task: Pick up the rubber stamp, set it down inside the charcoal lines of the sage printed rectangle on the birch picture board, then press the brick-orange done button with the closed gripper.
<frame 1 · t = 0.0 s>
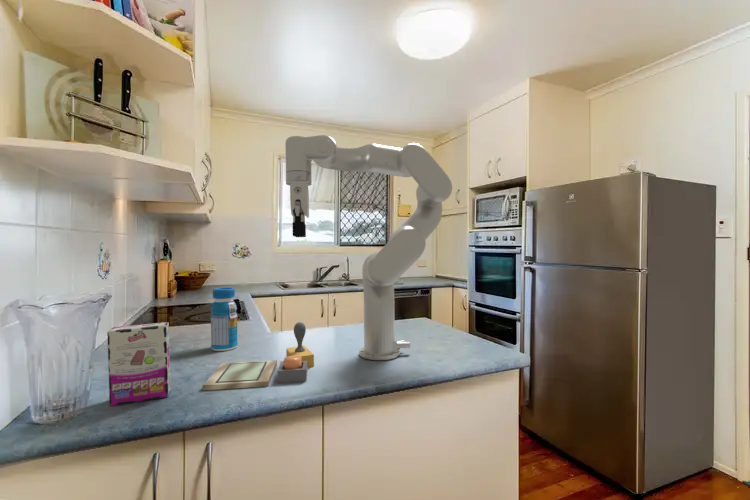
hand: (299, 236, 107), 37 cm above the worktop, tool pointing down, fingers open, 9 cm apart
beverage bottle: (224, 348, 119), on the worktop
done button: (293, 364, 92), point 3 cm above the worktop, slide at 0.0 cm
rubber stamp: (299, 364, 103), on the worktop
picture board: (243, 376, 93), on the worktop
candy bar box: (141, 398, 81), on the worktop
button housing: (293, 377, 92), on the worktop
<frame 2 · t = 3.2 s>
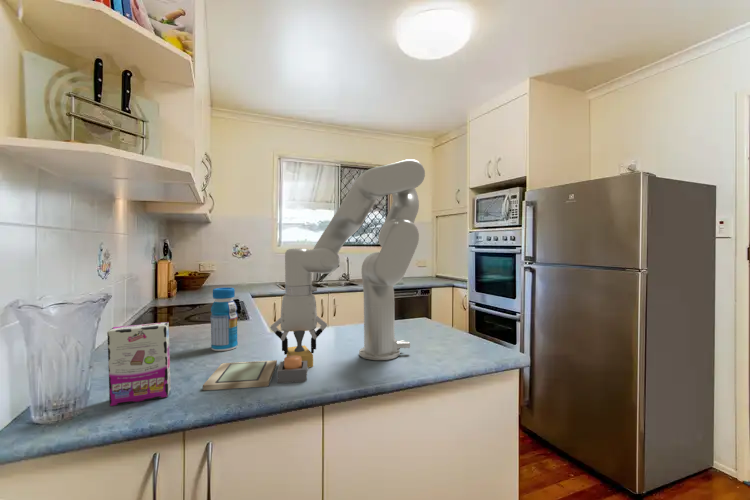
hand: (299, 352, 103), 3 cm above the worktop, tool pointing down, fingers closed on rubber stamp, 6 cm apart
rubber stamp: (299, 363, 103), on the worktop, touching gripper
everything else where it was.
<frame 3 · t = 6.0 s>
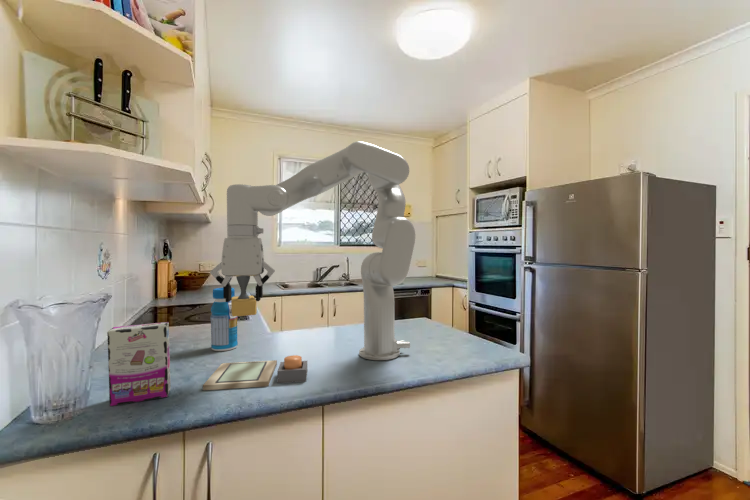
hand: (243, 300, 93), 20 cm above the worktop, tool pointing down, fingers closed on rubber stamp, 6 cm apart
rubber stamp: (243, 313, 93), point 16 cm above the worktop, touching gripper
everything else where it was.
when the fingers open (5 cm above the worktop, at t = 9.3 s): rubber stamp stays where it is, resting on picture board.
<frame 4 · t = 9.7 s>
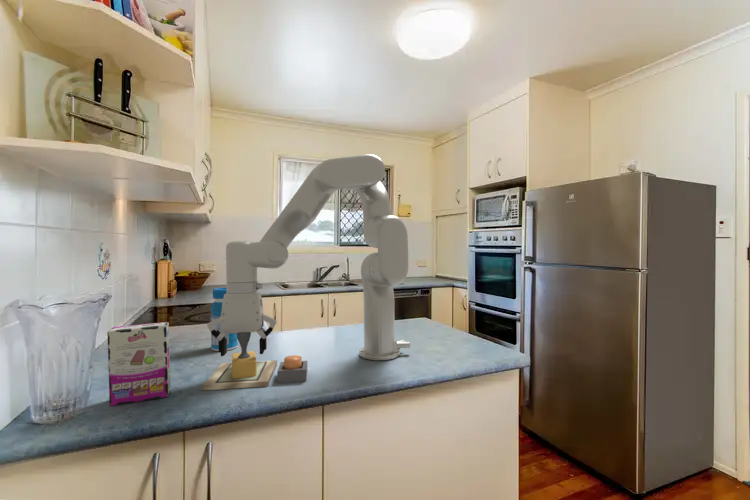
hand: (243, 353, 93), 6 cm above the worktop, tool pointing down, fingers open, 9 cm apart
rubber stamp: (244, 371, 93), point 1 cm above the worktop, touching picture board
everything else where it was.
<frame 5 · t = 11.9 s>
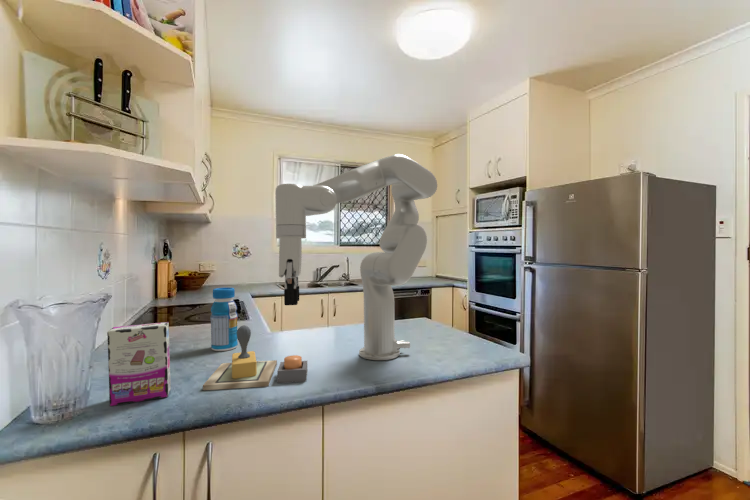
hand: (292, 302, 92), 19 cm above the worktop, tool pointing down, fingers open, 5 cm apart
nothing on the worktop moved.
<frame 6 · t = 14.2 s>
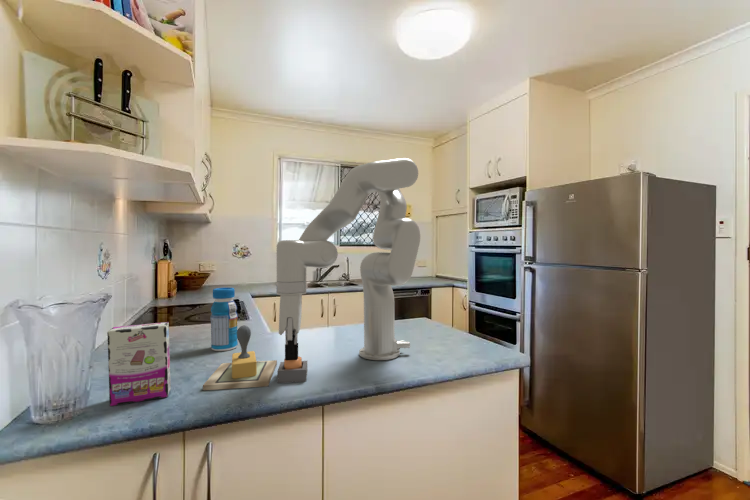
hand: (291, 358, 92), 5 cm above the worktop, tool pointing down, fingers closed
done button: (293, 365, 92), point 3 cm above the worktop, slide at 0.2 cm, touching gripper
everything else where it was.
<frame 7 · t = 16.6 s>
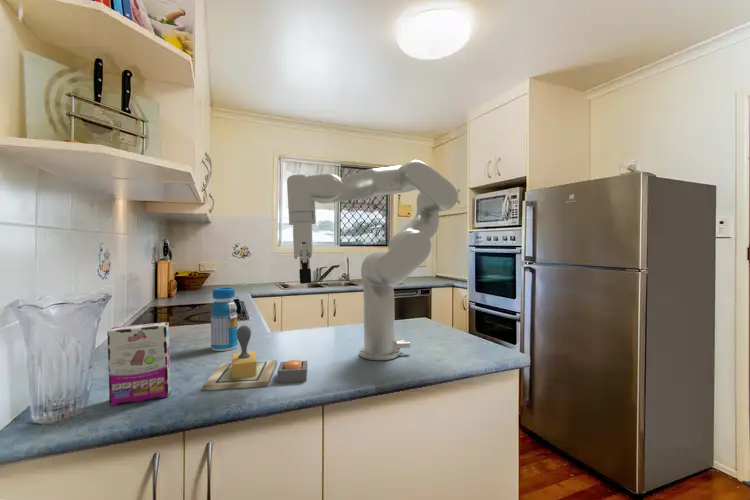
hand: (305, 283, 102), 23 cm above the worktop, tool pointing down, fingers closed
done button: (293, 369, 92), point 2 cm above the worktop, slide at 1.2 cm
everything else where it was.
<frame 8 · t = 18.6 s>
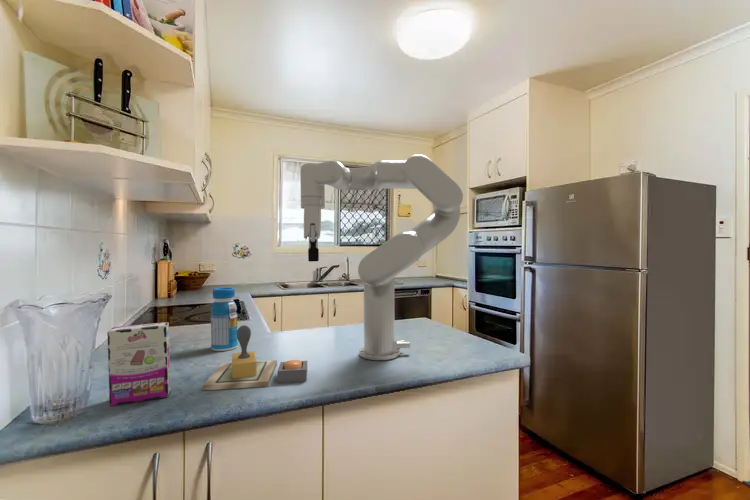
hand: (313, 261, 113), 29 cm above the worktop, tool pointing down, fingers closed
nothing on the worktop moved.
at the end: rubber stamp 0.2 cm off-centre on the picture board, point 1.1 cm above the picture board's base; rubber stamp tilted 0°; done button slide at 1.2 cm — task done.
